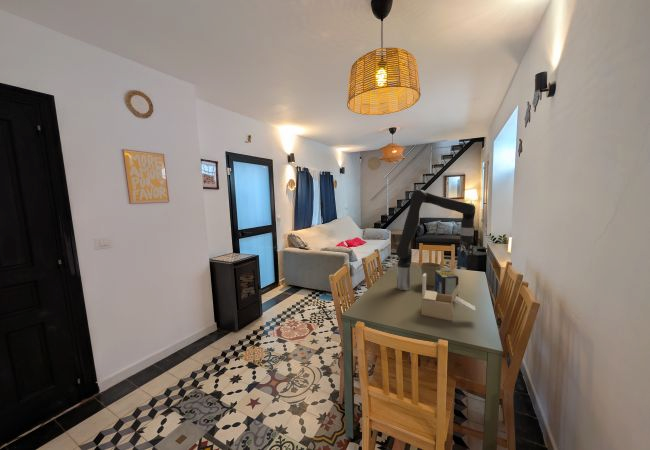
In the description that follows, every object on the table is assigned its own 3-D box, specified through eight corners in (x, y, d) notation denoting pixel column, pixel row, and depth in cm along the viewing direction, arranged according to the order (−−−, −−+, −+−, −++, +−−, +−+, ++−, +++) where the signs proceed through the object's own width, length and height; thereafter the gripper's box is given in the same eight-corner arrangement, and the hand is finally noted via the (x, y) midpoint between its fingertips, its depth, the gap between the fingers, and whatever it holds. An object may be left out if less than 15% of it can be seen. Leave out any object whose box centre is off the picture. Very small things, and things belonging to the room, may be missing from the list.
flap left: (421, 298, 147) (421, 277, 146) (424, 290, 159) (424, 271, 158) (435, 301, 143) (436, 279, 142) (437, 292, 155) (438, 273, 154)
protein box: (449, 290, 185) (449, 270, 183) (458, 299, 169) (458, 277, 168) (434, 290, 186) (434, 270, 184) (441, 299, 170) (442, 276, 169)
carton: (421, 315, 148) (421, 299, 147) (424, 305, 160) (424, 291, 159) (451, 320, 140) (452, 304, 139) (452, 310, 152) (453, 295, 151)
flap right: (458, 291, 137) (482, 304, 133) (458, 283, 149) (480, 295, 144) (451, 302, 140) (474, 315, 135) (451, 293, 151) (473, 305, 147)
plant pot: (434, 280, 207) (435, 262, 205) (444, 287, 192) (444, 266, 190) (416, 281, 206) (417, 262, 204) (425, 288, 191) (425, 267, 190)
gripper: (456, 232, 168) (454, 256, 170) (465, 236, 154) (463, 261, 156) (467, 232, 168) (466, 256, 170) (478, 236, 154) (476, 262, 155)
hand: (465, 259), depth 163 cm, fingers open, 8 cm apart
